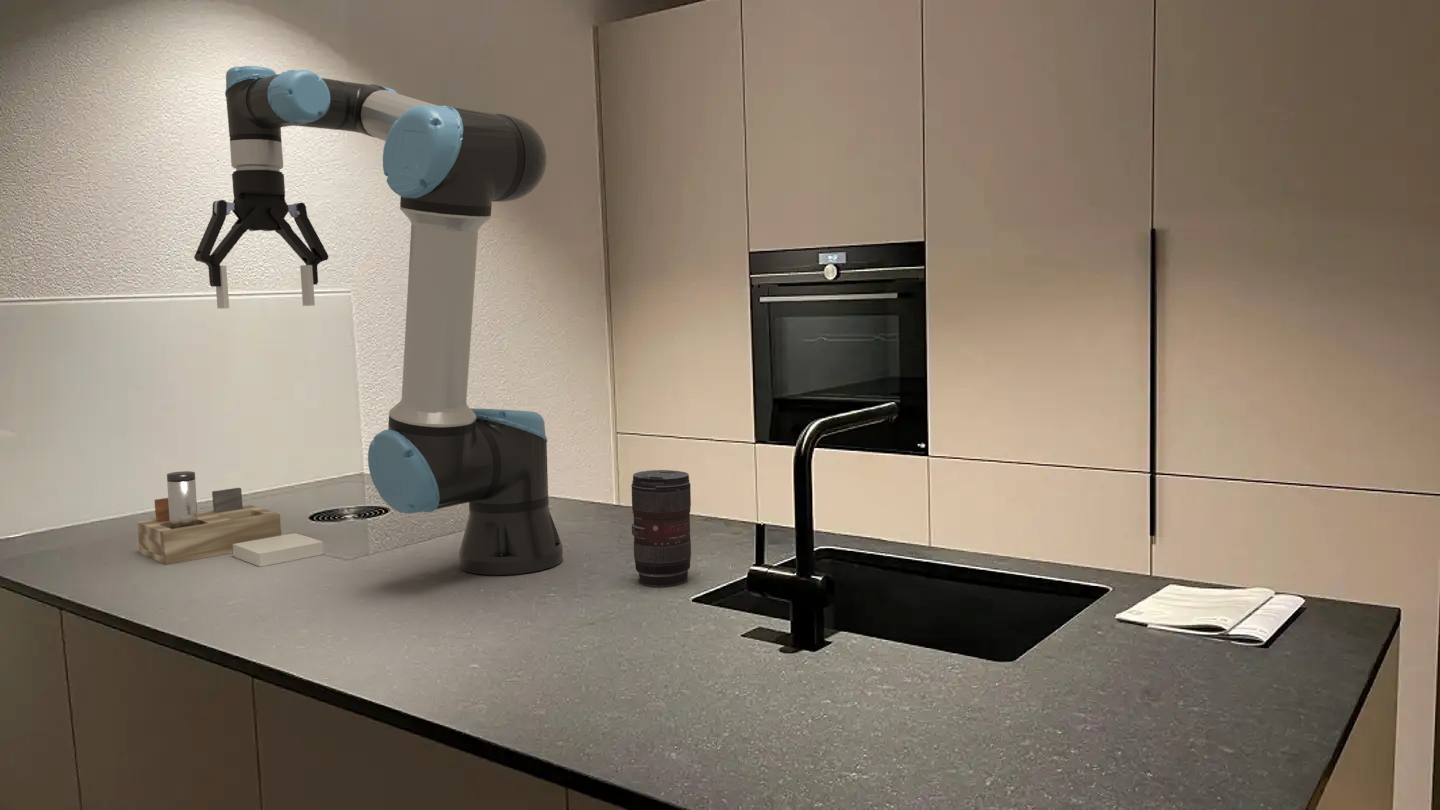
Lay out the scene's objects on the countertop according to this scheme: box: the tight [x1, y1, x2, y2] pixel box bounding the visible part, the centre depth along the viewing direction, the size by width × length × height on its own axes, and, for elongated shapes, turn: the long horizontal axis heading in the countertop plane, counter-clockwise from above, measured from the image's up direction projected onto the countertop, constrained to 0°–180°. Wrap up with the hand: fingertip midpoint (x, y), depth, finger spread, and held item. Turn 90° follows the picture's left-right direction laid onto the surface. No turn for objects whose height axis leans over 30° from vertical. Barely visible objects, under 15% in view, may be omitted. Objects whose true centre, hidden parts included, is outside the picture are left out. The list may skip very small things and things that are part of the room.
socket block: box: [136, 487, 282, 565], centre depth 182 cm, size 12×18×8 cm, turn 135°
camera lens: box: [631, 469, 692, 587], centre depth 154 cm, size 8×8×15 cm
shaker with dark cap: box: [166, 470, 198, 529], centre depth 177 cm, size 4×4×12 cm
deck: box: [233, 532, 325, 568], centre depth 176 cm, size 10×10×2 cm
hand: (267, 307), depth 177 cm, fingers open, 13 cm apart
